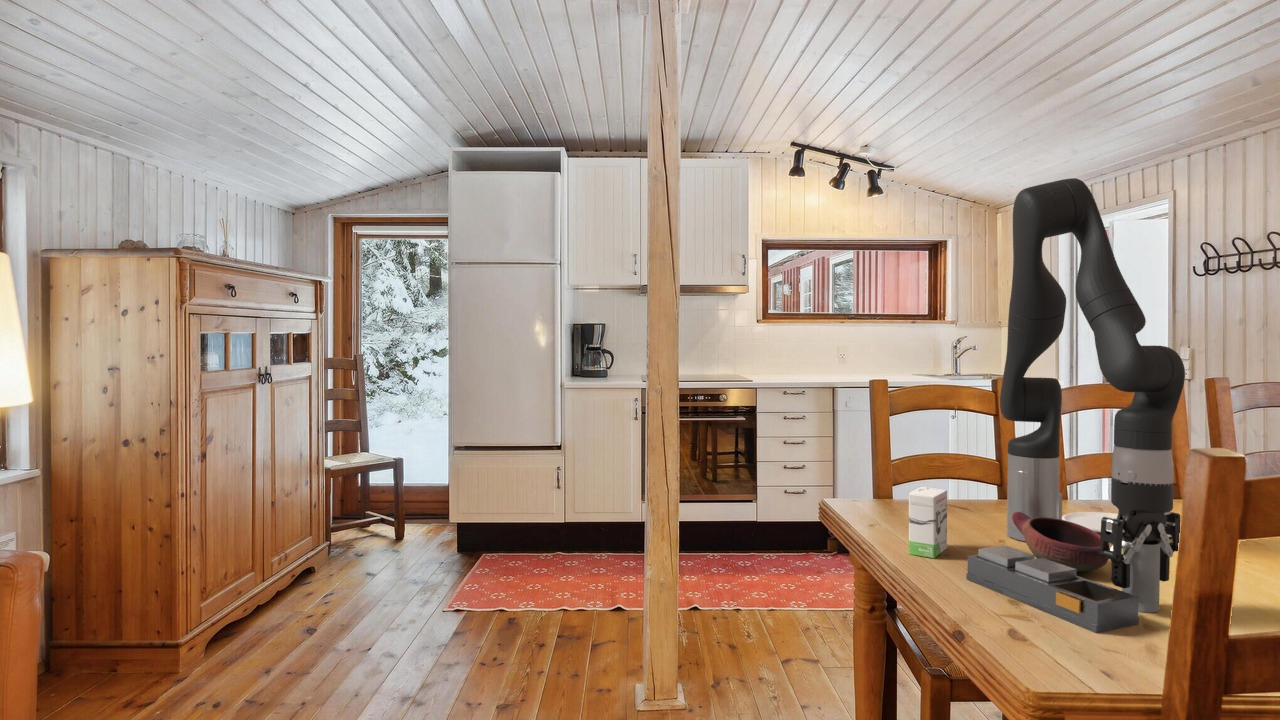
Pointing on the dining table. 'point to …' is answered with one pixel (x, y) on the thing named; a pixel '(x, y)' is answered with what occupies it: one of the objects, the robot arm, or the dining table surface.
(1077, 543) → the bowl
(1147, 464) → the robot arm
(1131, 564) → the gray cylinder
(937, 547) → the ink box
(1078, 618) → the grey compartment tray
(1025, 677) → the dining table surface
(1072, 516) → the plate
